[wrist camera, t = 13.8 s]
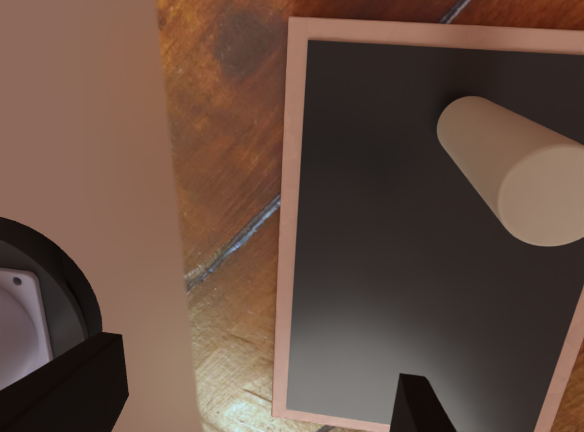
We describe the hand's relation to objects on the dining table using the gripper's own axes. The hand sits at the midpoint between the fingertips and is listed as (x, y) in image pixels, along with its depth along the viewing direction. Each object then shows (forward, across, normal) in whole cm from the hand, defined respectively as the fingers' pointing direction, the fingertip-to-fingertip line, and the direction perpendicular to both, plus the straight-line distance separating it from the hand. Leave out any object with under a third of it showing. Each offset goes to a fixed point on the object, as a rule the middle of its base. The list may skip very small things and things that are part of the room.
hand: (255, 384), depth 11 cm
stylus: (+9, -6, -6) cm, 12 cm away
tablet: (+10, -6, +1) cm, 12 cm away
